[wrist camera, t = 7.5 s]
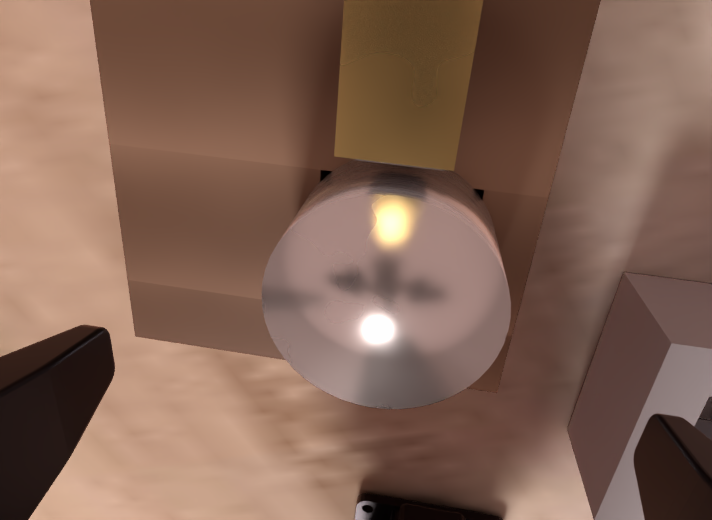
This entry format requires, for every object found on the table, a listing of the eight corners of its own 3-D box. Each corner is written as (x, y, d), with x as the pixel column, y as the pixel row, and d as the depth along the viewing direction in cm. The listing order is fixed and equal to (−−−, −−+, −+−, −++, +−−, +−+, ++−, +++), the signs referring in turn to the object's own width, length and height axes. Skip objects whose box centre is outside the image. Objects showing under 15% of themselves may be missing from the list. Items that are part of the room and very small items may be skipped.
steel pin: (468, 281, 18) (483, 425, 12) (319, 261, 18) (261, 390, 12) (500, 129, 16) (538, 213, 10) (327, 110, 16) (261, 178, 10)
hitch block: (485, 318, 19) (510, 483, 12) (190, 275, 20) (70, 408, 13) (578, -80, 13) (707, -151, 7) (161, -112, 14) (-65, -201, 8)
